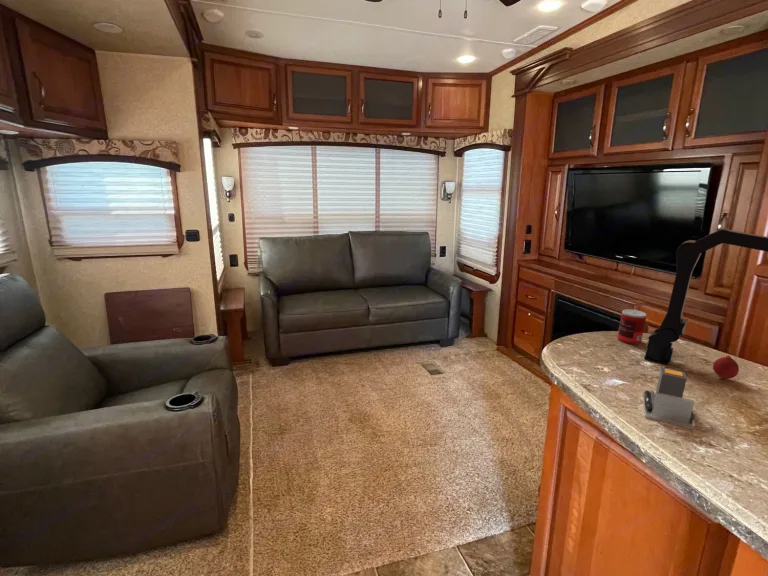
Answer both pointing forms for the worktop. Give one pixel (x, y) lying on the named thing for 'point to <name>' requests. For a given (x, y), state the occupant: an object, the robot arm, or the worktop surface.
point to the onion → (726, 367)
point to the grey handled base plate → (669, 409)
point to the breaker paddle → (671, 382)
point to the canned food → (631, 326)
